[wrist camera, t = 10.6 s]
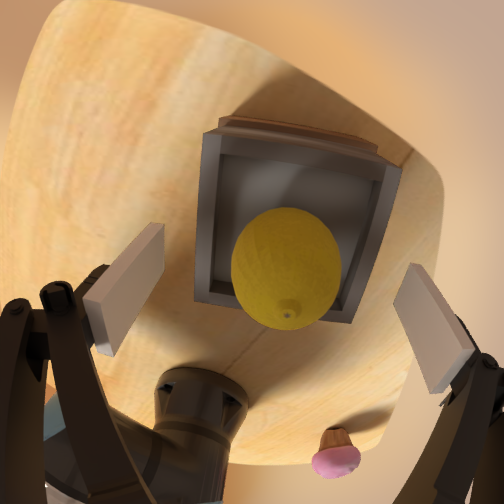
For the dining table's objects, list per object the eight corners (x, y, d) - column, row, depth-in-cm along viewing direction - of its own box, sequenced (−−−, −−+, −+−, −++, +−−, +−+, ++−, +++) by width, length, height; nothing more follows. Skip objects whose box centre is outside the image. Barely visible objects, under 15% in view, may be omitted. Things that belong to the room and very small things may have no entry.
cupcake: (312, 443, 50) (312, 485, 41) (310, 424, 46) (311, 472, 38) (355, 437, 49) (359, 479, 40) (358, 418, 45) (365, 465, 36)
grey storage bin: (333, 253, 30) (355, 329, 20) (217, 235, 30) (186, 305, 20) (361, 138, 24) (412, 163, 14) (230, 115, 25) (195, 123, 15)
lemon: (345, 215, 18) (382, 291, 11) (301, 281, 20) (308, 374, 13) (264, 173, 17) (253, 229, 10) (227, 248, 20) (199, 334, 13)
